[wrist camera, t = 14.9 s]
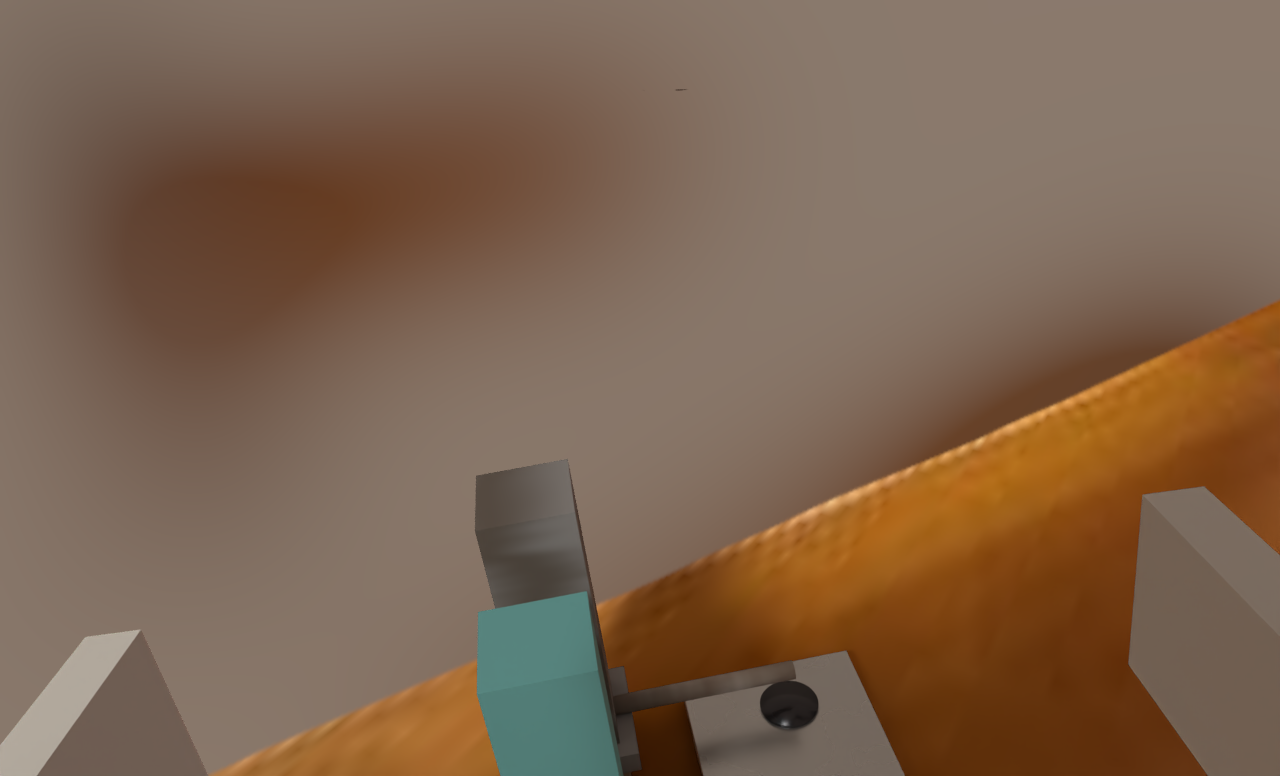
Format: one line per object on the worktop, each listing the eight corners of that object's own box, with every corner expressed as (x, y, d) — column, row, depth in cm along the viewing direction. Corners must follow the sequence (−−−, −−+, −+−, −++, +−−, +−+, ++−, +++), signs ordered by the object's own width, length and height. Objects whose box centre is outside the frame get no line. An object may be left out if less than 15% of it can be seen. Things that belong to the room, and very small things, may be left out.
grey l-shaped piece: (782, 682, 45) (762, 413, 38) (951, 1142, 29) (973, 820, 22) (527, 733, 45) (458, 469, 37) (551, 1236, 28) (434, 935, 21)
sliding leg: (827, 771, 38) (816, 533, 32) (871, 885, 34) (867, 634, 28) (523, 834, 37) (457, 602, 32) (528, 960, 33) (452, 716, 27)
